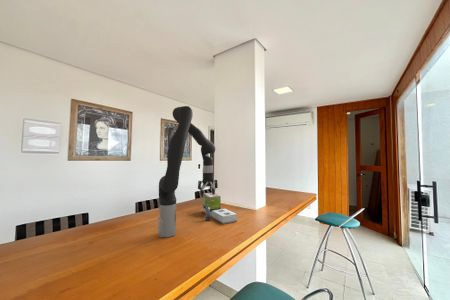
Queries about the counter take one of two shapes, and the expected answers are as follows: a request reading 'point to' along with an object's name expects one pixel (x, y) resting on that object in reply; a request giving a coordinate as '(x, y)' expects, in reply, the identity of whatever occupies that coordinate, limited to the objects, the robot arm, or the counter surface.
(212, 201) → the tea box
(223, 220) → the bore block
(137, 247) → the counter surface
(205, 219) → the pin
